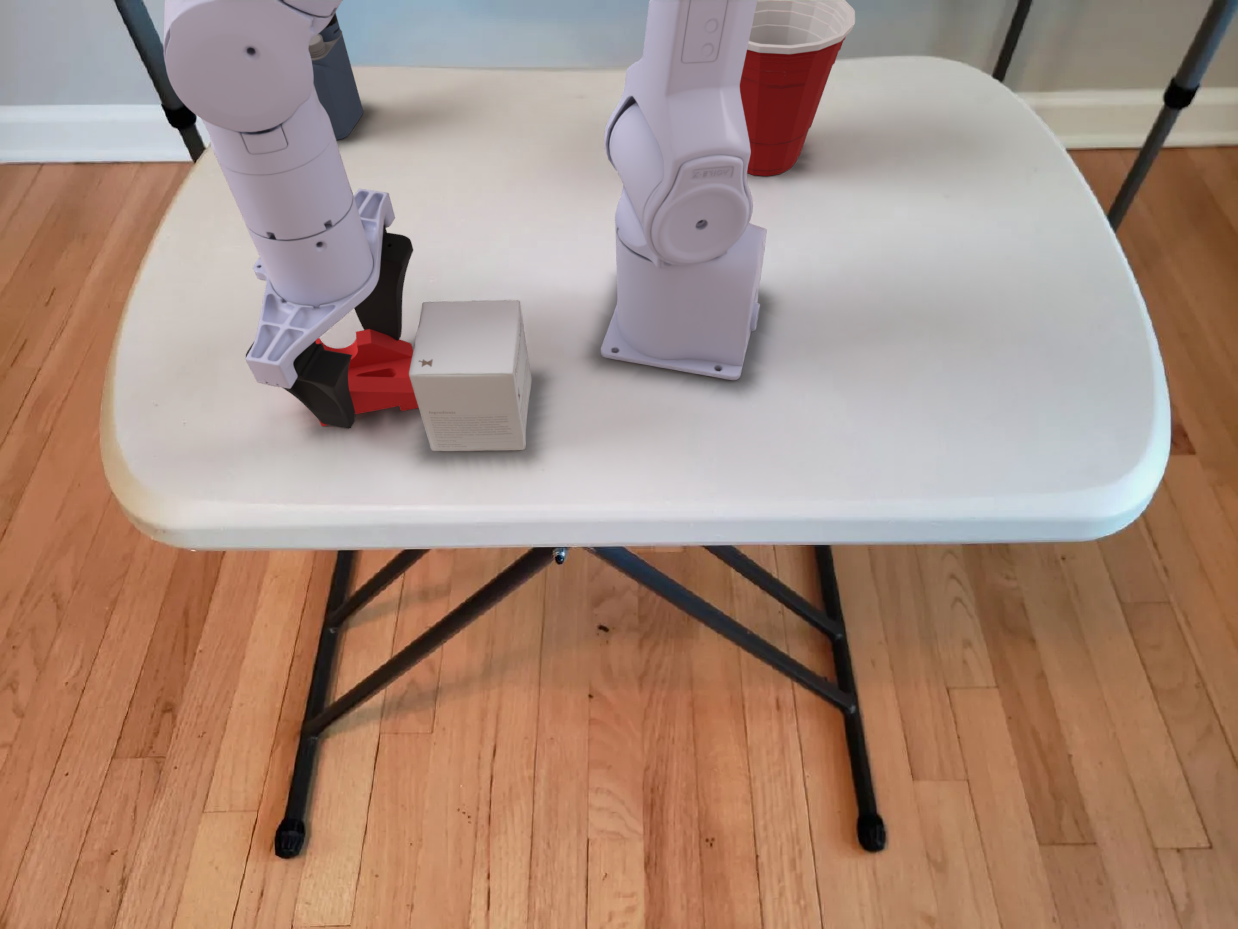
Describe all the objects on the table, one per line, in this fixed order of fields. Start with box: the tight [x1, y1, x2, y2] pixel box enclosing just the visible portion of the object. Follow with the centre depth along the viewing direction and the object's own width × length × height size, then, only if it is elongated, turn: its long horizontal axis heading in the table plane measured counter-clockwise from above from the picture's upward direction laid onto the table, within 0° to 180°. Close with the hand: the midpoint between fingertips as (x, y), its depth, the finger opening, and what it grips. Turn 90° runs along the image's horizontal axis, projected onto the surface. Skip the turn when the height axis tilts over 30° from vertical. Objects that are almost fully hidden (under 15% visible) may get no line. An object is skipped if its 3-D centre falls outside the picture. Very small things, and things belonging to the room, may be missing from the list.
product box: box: [409, 299, 533, 452], centre depth 56 cm, size 6×6×7 cm
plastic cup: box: [740, 0, 856, 177], centre depth 70 cm, size 11×11×12 cm
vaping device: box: [308, 11, 364, 141], centre depth 73 cm, size 3×5×12 cm, turn 167°
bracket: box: [316, 329, 419, 427], centre depth 59 cm, size 6×5×3 cm
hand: (362, 377), depth 59 cm, fingers open, 7 cm apart
